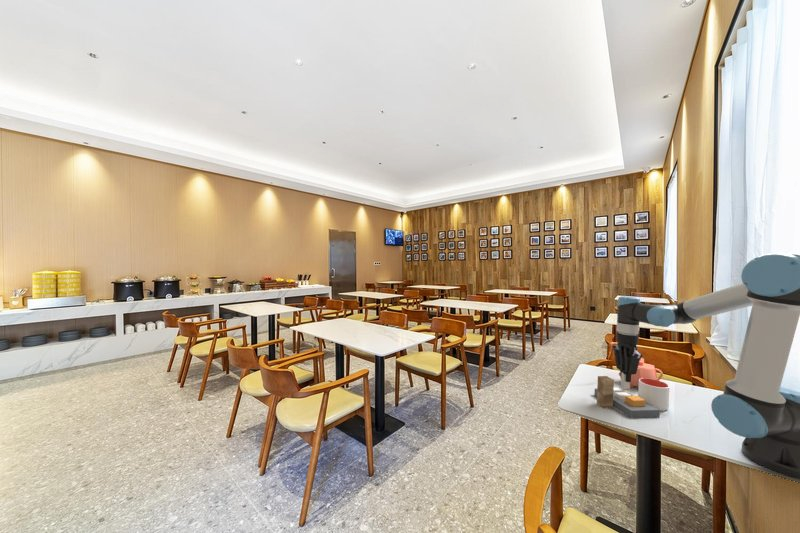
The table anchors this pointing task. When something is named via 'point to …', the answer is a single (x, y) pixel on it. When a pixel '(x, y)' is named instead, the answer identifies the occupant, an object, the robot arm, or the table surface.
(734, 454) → the table surface
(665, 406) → the cup
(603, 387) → the oak post
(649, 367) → the teapot
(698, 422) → the table surface
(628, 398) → the orange rectangular block
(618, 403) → the panel
